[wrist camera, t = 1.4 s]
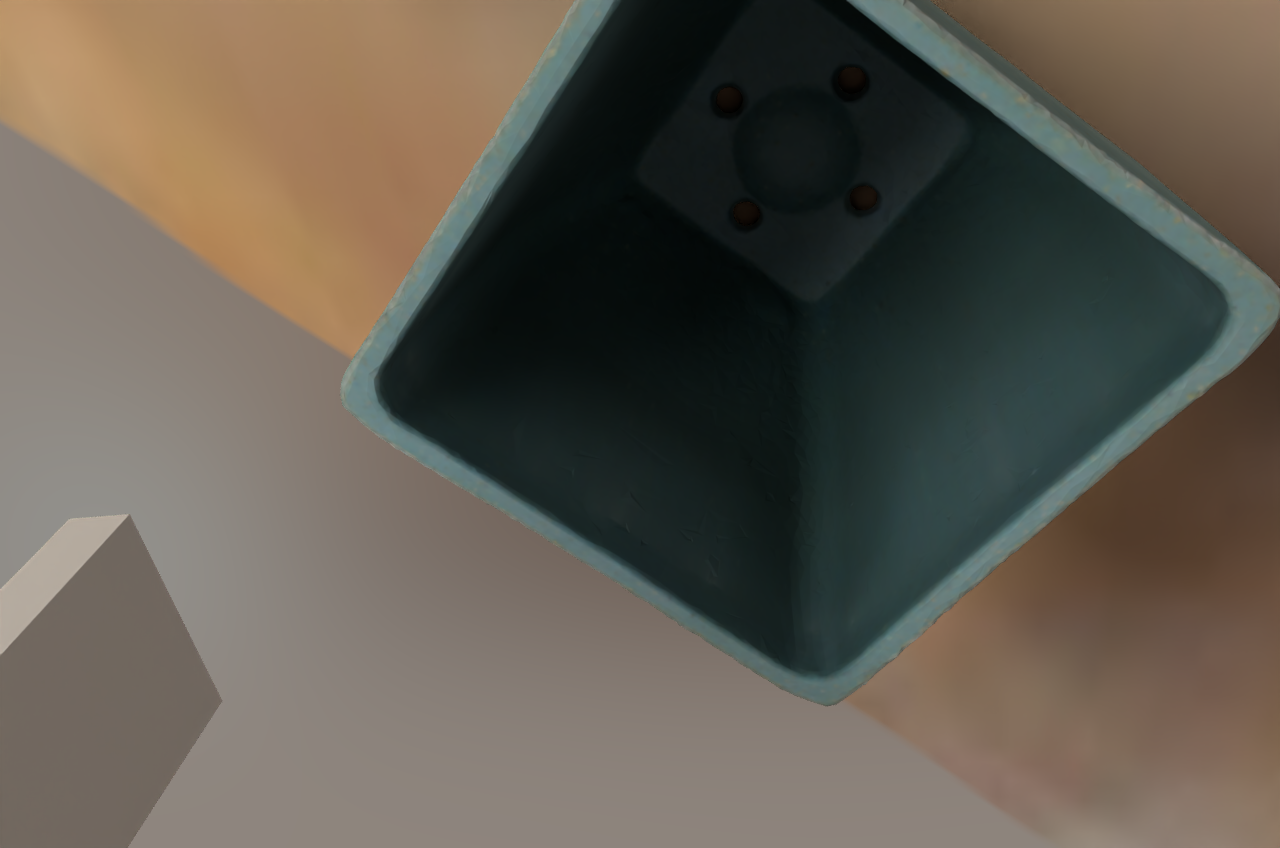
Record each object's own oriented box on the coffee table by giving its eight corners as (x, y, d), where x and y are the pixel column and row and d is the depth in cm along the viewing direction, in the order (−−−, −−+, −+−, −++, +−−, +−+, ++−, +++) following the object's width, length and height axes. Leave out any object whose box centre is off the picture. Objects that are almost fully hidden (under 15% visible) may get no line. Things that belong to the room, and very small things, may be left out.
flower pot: (749, -228, 19) (680, -180, 11) (1146, 89, 21) (1314, 312, 13) (491, 182, 24) (321, 409, 16) (834, 416, 25) (825, 721, 18)
